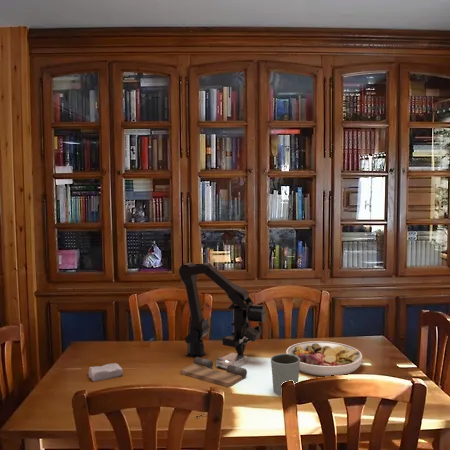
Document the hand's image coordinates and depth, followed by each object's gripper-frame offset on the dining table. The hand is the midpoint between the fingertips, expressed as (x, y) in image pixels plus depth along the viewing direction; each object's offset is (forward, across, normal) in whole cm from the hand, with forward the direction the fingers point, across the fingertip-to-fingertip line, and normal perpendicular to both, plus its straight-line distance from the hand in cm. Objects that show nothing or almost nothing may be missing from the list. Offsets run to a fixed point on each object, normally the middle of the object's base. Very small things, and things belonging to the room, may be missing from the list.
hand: (240, 356), depth 209 cm
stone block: (+2, -42, +36) cm, 55 cm away
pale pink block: (+1, -7, 0) cm, 7 cm away
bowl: (+2, +15, -30) cm, 34 cm away
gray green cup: (+2, -17, -30) cm, 34 cm away
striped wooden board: (+1, -20, 0) cm, 20 cm away
